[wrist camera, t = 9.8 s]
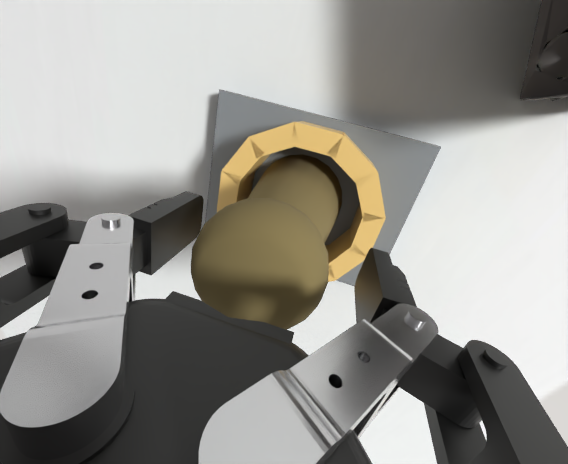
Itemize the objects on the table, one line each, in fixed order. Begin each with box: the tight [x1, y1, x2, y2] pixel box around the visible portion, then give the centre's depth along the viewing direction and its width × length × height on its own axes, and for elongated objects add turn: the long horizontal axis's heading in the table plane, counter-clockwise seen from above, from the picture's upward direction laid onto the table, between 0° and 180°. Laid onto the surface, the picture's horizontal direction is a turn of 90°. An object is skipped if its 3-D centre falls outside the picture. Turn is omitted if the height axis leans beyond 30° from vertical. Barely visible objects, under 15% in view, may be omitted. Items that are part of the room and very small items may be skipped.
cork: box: [191, 154, 342, 330], centre depth 13 cm, size 6×6×11 cm
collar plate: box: [205, 89, 441, 286], centre depth 18 cm, size 11×14×4 cm
